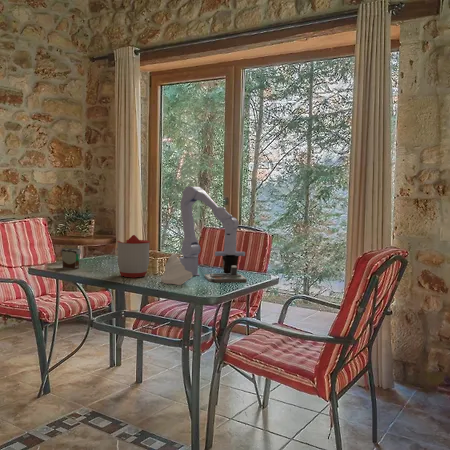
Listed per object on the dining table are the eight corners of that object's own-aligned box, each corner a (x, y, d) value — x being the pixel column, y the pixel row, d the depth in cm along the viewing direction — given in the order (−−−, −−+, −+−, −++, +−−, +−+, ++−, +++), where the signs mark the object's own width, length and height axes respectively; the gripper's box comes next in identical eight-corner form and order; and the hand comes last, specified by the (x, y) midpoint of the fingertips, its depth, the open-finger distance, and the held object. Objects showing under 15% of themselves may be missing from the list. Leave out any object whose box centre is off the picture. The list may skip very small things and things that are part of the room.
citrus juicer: (129, 271, 256) (129, 232, 254) (156, 275, 247) (156, 235, 245) (106, 275, 242) (107, 234, 241) (134, 280, 233) (135, 237, 232)
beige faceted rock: (167, 289, 221) (159, 258, 220) (161, 286, 236) (154, 256, 235) (194, 281, 225) (186, 250, 224) (187, 278, 239) (179, 249, 238)
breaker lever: (230, 276, 242) (230, 266, 242) (228, 275, 245) (229, 265, 245) (238, 276, 243) (238, 266, 243) (236, 275, 246) (237, 265, 246)
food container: (86, 268, 263) (86, 249, 262) (77, 269, 258) (77, 250, 257) (70, 265, 269) (70, 247, 269) (60, 267, 264) (61, 248, 264)
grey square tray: (211, 282, 233) (211, 279, 233) (205, 276, 249) (205, 273, 249) (246, 282, 236) (246, 279, 236) (237, 276, 252) (237, 273, 252)
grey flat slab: (209, 281, 236) (209, 276, 235) (204, 276, 247) (204, 272, 247) (246, 280, 239) (246, 276, 239) (240, 276, 251) (240, 272, 251)
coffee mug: (236, 274, 257) (237, 255, 256) (220, 273, 258) (220, 254, 258) (240, 271, 268) (241, 252, 267) (224, 270, 270) (225, 251, 269)
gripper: (217, 243, 237) (216, 272, 238) (247, 243, 240) (246, 272, 241) (214, 242, 244) (213, 269, 245) (243, 242, 247) (242, 269, 248)
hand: (229, 270), depth 243 cm, fingers closed
